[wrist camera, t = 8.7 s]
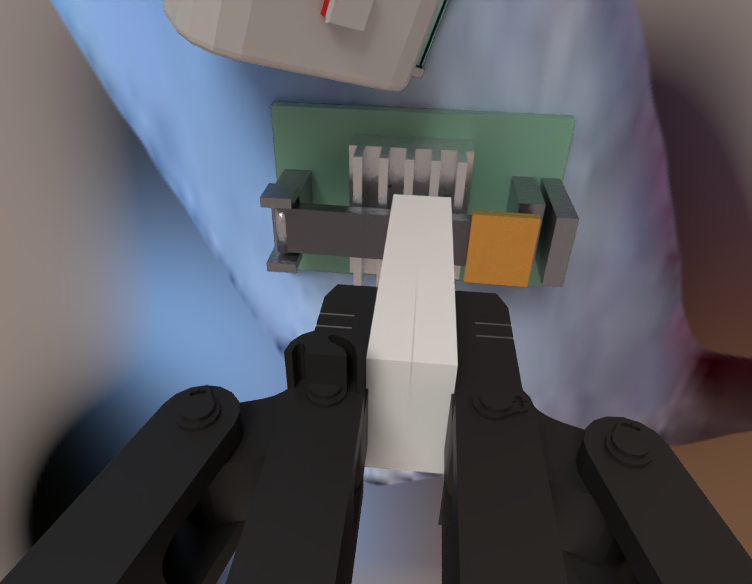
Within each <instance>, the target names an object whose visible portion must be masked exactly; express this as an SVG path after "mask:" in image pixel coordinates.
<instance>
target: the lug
mask: <svg viewBox="0 0 752 584" xmlns="http://www.w3.org/2000/svg"><path fill="white" fill-rule="evenodd" d="M506 212H512V213H526V214H540V217H541V222H540V226H539V231H538V236H537V241H536V246H535V251H534V256H533V261H532V266H531V270H530V271H532V269H533V264H534V259H535V262H536V265H537V269H538V272H539V276H540V280H541V283H542V285H543V286H558V287H563V283H564V278H565V274H566V270H567V266H568V262H569V258H570V254H571V250H572V246H573V242H574V238H575V234H576V230H577V226H578V222H579V218H578V216H577V213H576V211H575V209H574V207H573V205H572V203H571V200H570V198H569V196H568V194H567V192H566V190H565V187H564V185H563V183H562V181H561V179H559V178H541V182H540V187H539V185H538V183H537V180H536V177H523V176H512V178H511V184H510V190H509V197H508V203H507V209H506Z"/></svg>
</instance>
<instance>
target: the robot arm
mask: <svg viewBox="0 0 752 584" xmlns="http://www.w3.org/2000/svg"><path fill="white" fill-rule="evenodd" d="M284 355H285V366H286V376H287V387H288V389H287V390H285V391H284V392H281V393H279V394H277V395H275V396H272V397H268V398H264V399H259V400H253V401H247V402H241V403H239V401H238V400H237V398H236V397H235V396H234V394H232V392H230V391H228V390H226V389H224V388H222V387H218V386H208V385H205V386H198V387H192V388H189V389H187V390H184V391H182V392H180V393H177V394H175V395H174V396H173V397H172V398H170V399H169V400H168V401H167V402H165V403H164V404H163V405H162V406H161V407H160V409H159V410H158V411H157V412H156V413H155V414H154V415H153V416H152V417H151V418H150V419H149V421H148V422H147V423H146V424H145V425H144V426H143V427H142V428H141V429H140V430H139V431H138V433H137V434H136V435H135V436H134V437H133V438H132V439H131V440H130V441H129V442H128V443H127V445H126V446H125V447H124V448H123V449H122V450H121V451H120V452H119V453H118V454H117V455H116V457H115V458H114V459H113V460H112V461H111V462H110V463H109V464H108V465H107V466H106V467H105V469H104V470H103V471H102V472H101V473H100V474H99V475H98V476H97V477H96V478H95V479H94V481H93V482H92V483H91V484H90V485H89V486H88V487H87V488H86V489H85V490H84V492H83V493H82V494H81V495H80V496H79V497H78V498H77V499H76V500H75V501H74V503H73V504H72V505H71V506H70V507H69V508H68V509H67V510H66V511H65V512H64V514H63V515H61V517H60V518H59V519H58V520H57V521H56V522H55V523H54V524H53V525H52V526H51V528H50V529H49V530H48V531H47V532H46V533H45V534H44V535H43V536H42V537H41V538H40V540H39V541H38V542H37V543H36V544H35V545H34V546H33V547H32V548H31V549H30V550H29V552H28V553H27V554H26V555H25V556H24V557H23V558H22V559H21V560H20V561H19V562H18V563H17V565H16V566H15V567H14V568H13V569H12V570H11V571H10V572H9V573H8V574H7V575H6V577H5V578H4V579H3V580H2V581H1V582H0V584H216V583H217V581H218V579H219V577H220V576H221V574H222V572H223V571H224V569H225V567H226V566H227V564H228V562H229V561H230V559H231V557H232V555H233V554H234V552H235V550H236V552H235V556H234V559H233V562H232V565H231V568H230V571H229V574H228V578H227V581H226V584H351V583H352V575H353V568H354V559H355V552H356V544H357V537H358V529H359V521H360V514H361V506H362V498H363V474H364V467H374V468H385V469H396V470H407V471H418V472H429V473H440V474H443V473H444V487H443V495H442V502H441V509H440V516H439V525H442V584H752V559H751V557H750V556H749V555H748V553H747V552H746V551H745V549H744V548H743V546H742V545H741V544H740V542H739V541H738V540H737V538H736V537H735V536H734V534H733V533H732V532H731V530H730V529H729V527H728V526H727V525H726V523H725V522H724V520H723V519H722V518H721V516H720V515H719V514H718V512H717V511H716V510H715V508H714V507H713V505H712V504H711V503H710V501H709V500H708V499H707V497H706V496H705V494H704V493H703V492H702V490H701V489H700V488H699V486H698V485H697V484H696V482H695V481H694V479H693V478H692V477H691V475H690V474H689V473H688V471H687V470H686V469H685V467H684V466H683V464H682V463H681V462H680V461H679V459H678V458H677V456H676V455H675V453H674V452H673V451H672V449H671V448H670V447H669V445H668V444H667V443H666V442H665V441H664V440H663V439H662V438H661V437H660V436H659V435H658V434H657V433H656V432H655V431H653V430H652V429H650V428H648V427H647V426H645V425H643V424H641V423H640V422H636V421H633V420H630V419H627V418H624V417H604V418H600V419H597V420H594V421H593V422H592V423H591V424H590V425H589V426H588V427H587V428H586V429H585V430H584V429H581V428H577V427H574V426H571V425H568V424H565V423H562V422H560V421H557V420H555V419H552V418H550V417H548V416H547V415H545V414H543V413H542V412H540V411H539V410H538V409H536V408H535V407H534V405H533V403H532V401H531V398H530V397H529V396H528V395H527V394H526V393H525V392H524V391H523V389H522V385H521V379H520V373H519V367H518V362H517V356H516V350H515V344H514V340H513V333H512V327H511V322H510V316H509V310H508V307H507V306H506V305H505V303H504V302H503V301H502V300H501V299H500V297H499V296H498V295H497V294H496V293H481V292H467V291H455V283H454V257H453V232H452V207H451V197H434V196H416V195H398V194H394V195H393V201H392V207H391V213H390V219H389V225H388V231H387V237H386V243H385V249H384V255H383V261H382V267H381V273H380V279H379V285H378V287H370V286H356V285H341V284H338V285H337V286H335V287H334V288H333V289H332V290H331V291H330V292H329V293H328V294H327V295H326V296H325V298H324V301H323V304H322V307H321V311H320V314H319V317H318V321H317V326H316V327H315V331H312V332H309V333H305V334H302V335H300V336H299V337H297V338H296V339H294V340H293V341H291V342H290V344H289V345H288V347H287V348H286V349H285V351H284Z"/></svg>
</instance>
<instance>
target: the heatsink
mask: <svg viewBox="0 0 752 584" xmlns="http://www.w3.org/2000/svg"><path fill="white" fill-rule="evenodd" d="M473 160H474V145H473V139H454V138H435V137H415V136H395V135H376V134H356V133H354V134H353V137H352V139H351V142H350V144H349V206H354V207H368V208H382V209H391V207H392V201H393V195H394V194H398V195H416V196H434V197H451V207H452V214H466V215H467V209H468V201H469V193H470V185H471V176H472V168H473ZM382 261H383V260H380V259H367V258H355V257H350V272H353V285H356V286H362V282H363V278H364V273H367V274H376V287H378V285H379V279H380V273H381V267H382ZM460 267H461V266H456V265H454V279H456V280H459V275H460Z"/></svg>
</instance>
